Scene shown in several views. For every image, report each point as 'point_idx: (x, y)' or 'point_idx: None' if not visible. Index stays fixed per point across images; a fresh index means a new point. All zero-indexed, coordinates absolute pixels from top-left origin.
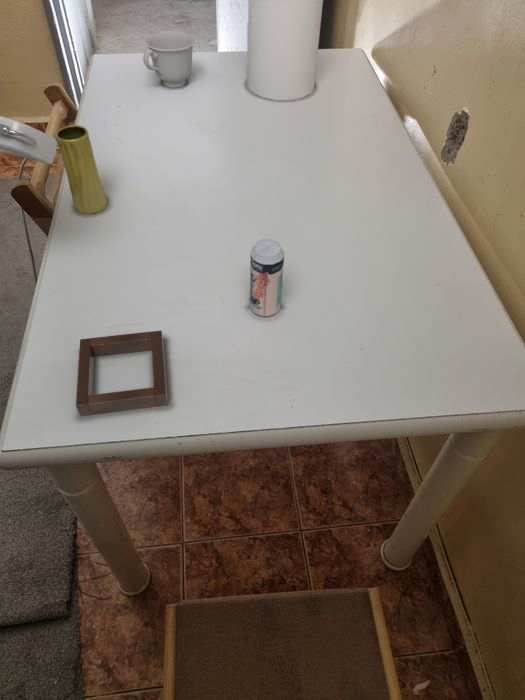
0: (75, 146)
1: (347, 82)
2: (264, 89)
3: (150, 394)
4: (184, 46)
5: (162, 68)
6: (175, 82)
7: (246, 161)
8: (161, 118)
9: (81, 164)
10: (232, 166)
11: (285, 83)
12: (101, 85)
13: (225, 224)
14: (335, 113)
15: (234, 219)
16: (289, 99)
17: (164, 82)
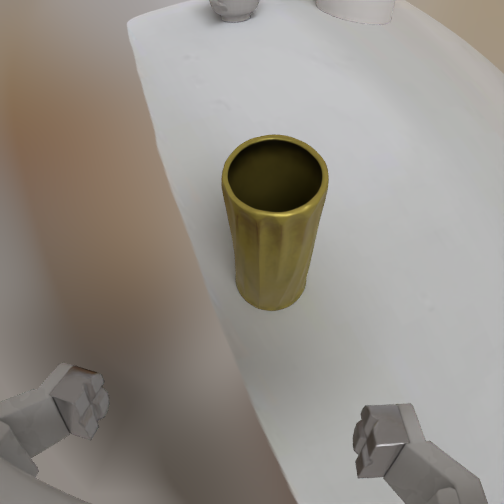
0: (309, 220)
1: (406, 10)
2: (355, 14)
3: None
4: None
5: (229, 3)
6: (242, 15)
7: (428, 111)
8: (258, 57)
9: (304, 247)
10: (422, 122)
11: (380, 9)
12: (146, 42)
13: (499, 250)
14: (435, 41)
15: (500, 235)
16: (381, 24)
17: (226, 18)
